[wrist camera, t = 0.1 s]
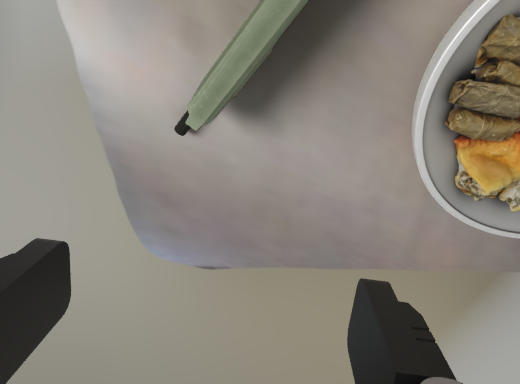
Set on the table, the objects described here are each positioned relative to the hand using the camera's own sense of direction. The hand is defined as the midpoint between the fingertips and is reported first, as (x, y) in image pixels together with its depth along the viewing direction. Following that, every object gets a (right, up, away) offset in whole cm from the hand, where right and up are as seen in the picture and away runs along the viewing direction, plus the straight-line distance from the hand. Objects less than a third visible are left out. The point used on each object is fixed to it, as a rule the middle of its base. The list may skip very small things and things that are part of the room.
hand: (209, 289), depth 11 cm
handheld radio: (+1, +17, +27) cm, 32 cm away
